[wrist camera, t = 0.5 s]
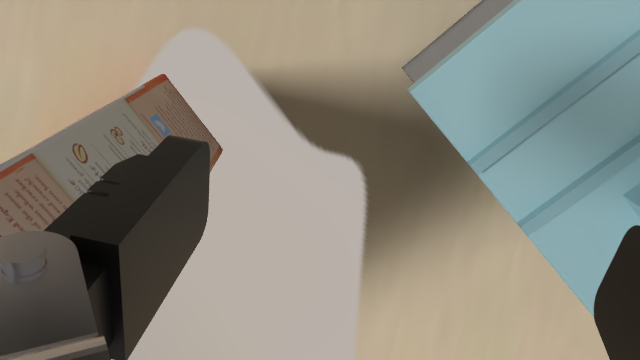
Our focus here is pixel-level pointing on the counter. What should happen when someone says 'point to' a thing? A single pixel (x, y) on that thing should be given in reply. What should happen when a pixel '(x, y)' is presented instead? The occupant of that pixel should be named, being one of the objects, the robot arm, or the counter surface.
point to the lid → (551, 125)
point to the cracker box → (93, 153)
